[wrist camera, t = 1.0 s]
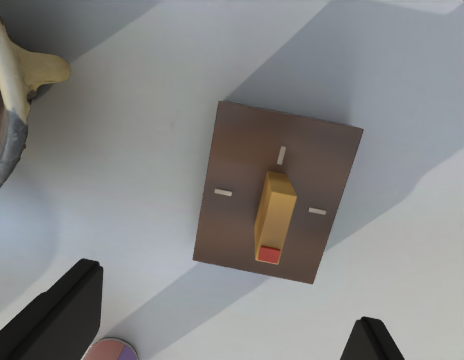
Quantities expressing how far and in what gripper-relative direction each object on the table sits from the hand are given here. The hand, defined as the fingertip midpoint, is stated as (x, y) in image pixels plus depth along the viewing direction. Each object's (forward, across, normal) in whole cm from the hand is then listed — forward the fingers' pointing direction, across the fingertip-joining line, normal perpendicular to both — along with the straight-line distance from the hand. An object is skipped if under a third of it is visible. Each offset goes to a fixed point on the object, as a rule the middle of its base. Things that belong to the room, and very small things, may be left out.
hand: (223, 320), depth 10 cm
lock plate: (+16, -3, 0) cm, 16 cm away
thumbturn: (+13, -3, 0) cm, 13 cm away
